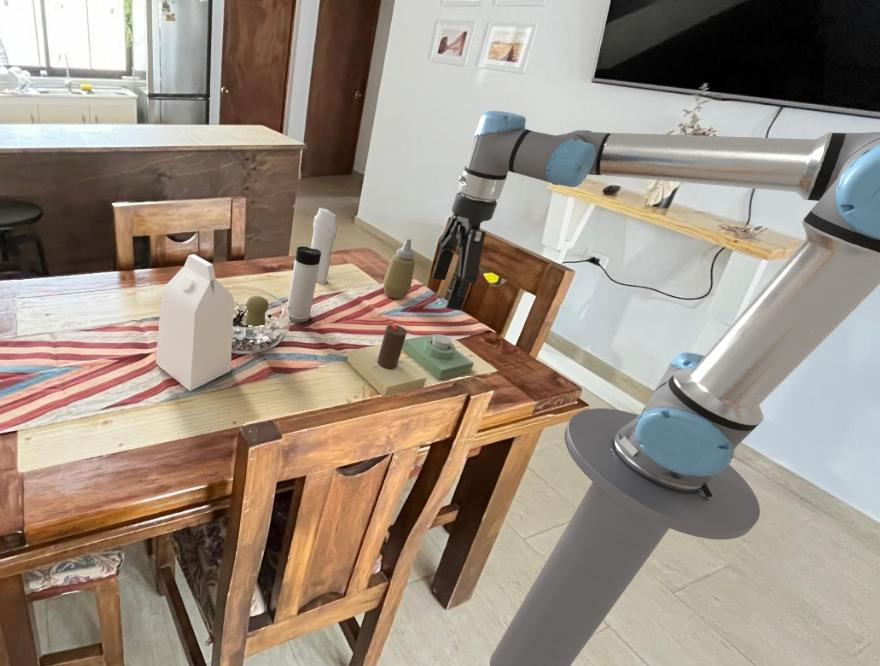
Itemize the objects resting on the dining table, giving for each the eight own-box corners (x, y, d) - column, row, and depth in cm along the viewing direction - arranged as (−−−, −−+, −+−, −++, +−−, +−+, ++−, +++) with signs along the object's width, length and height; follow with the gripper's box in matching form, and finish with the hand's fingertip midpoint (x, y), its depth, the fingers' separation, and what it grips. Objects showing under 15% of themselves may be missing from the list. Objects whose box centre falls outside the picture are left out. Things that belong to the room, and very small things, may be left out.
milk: (230, 370, 113) (242, 264, 101) (190, 391, 106) (197, 278, 94) (195, 345, 121) (203, 243, 109) (155, 363, 113) (158, 255, 101)
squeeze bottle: (398, 287, 160) (412, 233, 151) (413, 300, 153) (429, 244, 145) (375, 289, 157) (389, 234, 149) (390, 302, 150) (405, 245, 142)
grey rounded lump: (452, 349, 123) (454, 342, 122) (439, 351, 121) (442, 344, 120) (440, 340, 126) (442, 333, 125) (427, 342, 124) (430, 335, 123)
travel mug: (282, 319, 135) (293, 249, 126) (289, 308, 141) (300, 241, 132) (305, 325, 134) (318, 255, 124) (311, 314, 139) (324, 246, 130)
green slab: (470, 372, 122) (476, 356, 120) (438, 379, 118) (444, 363, 116) (432, 342, 132) (437, 327, 130) (401, 348, 128) (406, 333, 126)
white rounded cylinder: (300, 270, 163) (311, 204, 153) (311, 269, 165) (322, 203, 155) (320, 285, 155) (333, 216, 145) (331, 283, 157) (345, 215, 147)
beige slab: (423, 388, 115) (427, 377, 113) (384, 398, 110) (387, 386, 109) (384, 353, 126) (386, 342, 124) (346, 360, 121) (349, 349, 120)
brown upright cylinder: (401, 367, 116) (411, 332, 111) (385, 370, 114) (395, 335, 110) (388, 356, 119) (398, 322, 115) (373, 359, 117) (382, 325, 113)
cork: (254, 347, 122) (259, 307, 117) (235, 336, 126) (240, 297, 121) (270, 338, 126) (276, 299, 121) (251, 328, 130) (256, 290, 125)
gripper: (443, 176, 110) (417, 265, 120) (475, 214, 88) (440, 319, 98) (478, 181, 110) (449, 270, 120) (520, 220, 88) (480, 325, 98)
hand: (445, 292), depth 109 cm, fingers open, 13 cm apart
